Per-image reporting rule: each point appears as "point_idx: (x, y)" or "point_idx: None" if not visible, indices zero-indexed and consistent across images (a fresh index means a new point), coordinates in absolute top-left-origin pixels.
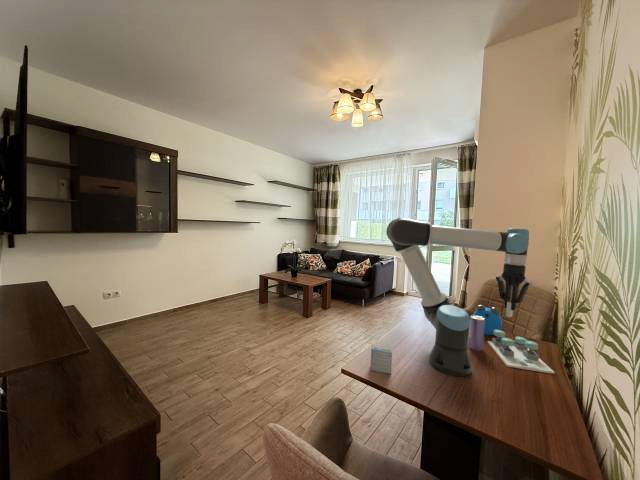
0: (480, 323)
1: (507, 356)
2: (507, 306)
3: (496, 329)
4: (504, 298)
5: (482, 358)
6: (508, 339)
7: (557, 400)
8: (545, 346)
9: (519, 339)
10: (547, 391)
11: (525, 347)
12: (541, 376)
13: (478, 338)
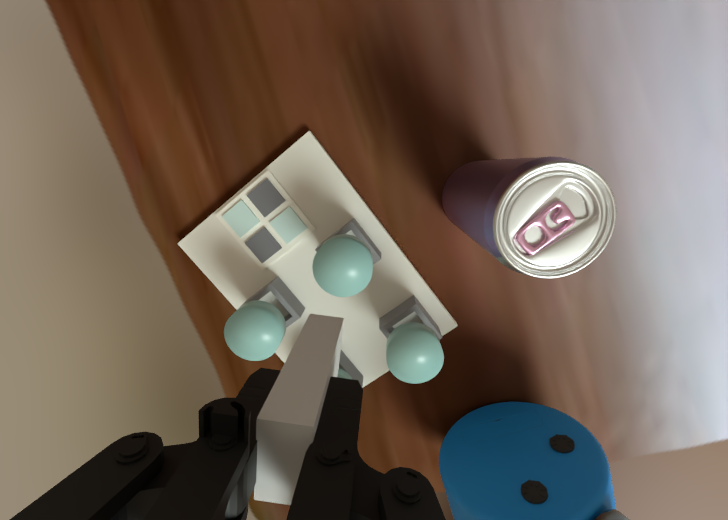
0: (500, 175)
1: (338, 224)
2: (316, 378)
3: (456, 441)
4: (363, 490)
5: (411, 109)
6: (341, 279)
7: (96, 4)
8: None
9: None
10: (140, 48)
11: None
12: (199, 170)
13: (472, 169)
